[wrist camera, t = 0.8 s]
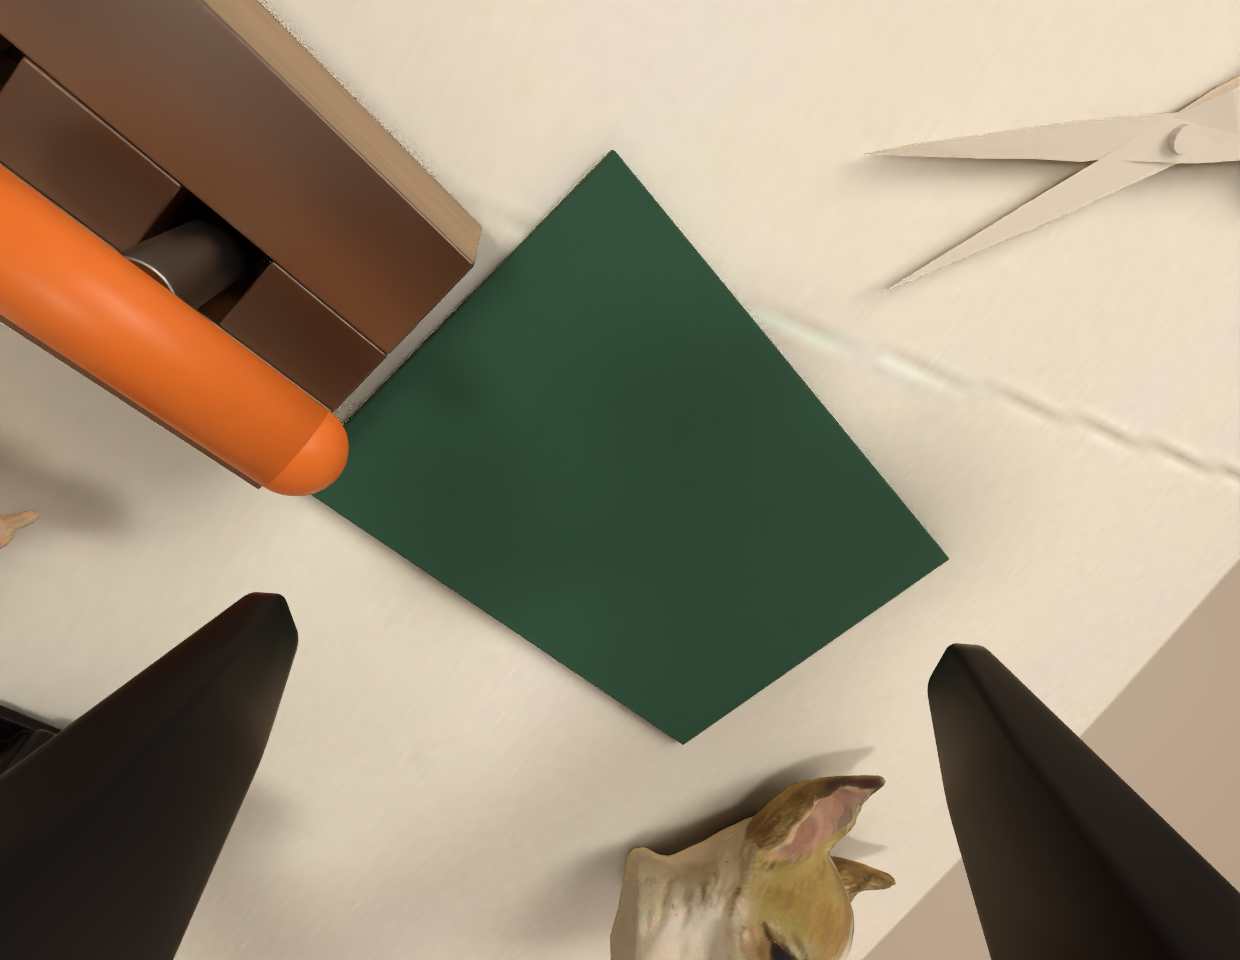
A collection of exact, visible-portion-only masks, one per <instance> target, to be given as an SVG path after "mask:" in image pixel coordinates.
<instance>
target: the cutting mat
mask: <svg viewBox="0 0 1240 960" xmlns="http://www.w3.org/2000/svg"><path fill="white" fill-rule="evenodd" d="M343 427H344V429H345V431H346V434H347V438H348V442H349V454H348V459H347V463H346V465H345V467H344V469H343V471H342V473H341V474H340V476H339V477H338V478H337V479H336V480H335V481H334V482H333V483H332V484H330V485H329V486H328V487H326V488H325V489H323V490H321V491H318V492H316V493H313V494H311V495H312V496H314V497H315V498H317V499H318V500H320V501H321V502H323V503H324V504H326V505H327V506H329V507H330V508H332V509H333V510H335V511H336V512H338V513H339V514H340V515H342V516H343V517H345V518H346V519H348V520H349V521H351V522H352V523H354V524H355V525H357V526H358V527H360V528H361V529H363V530H364V531H366V532H367V533H369V534H370V535H372V536H373V537H375V538H376V539H378V540H379V541H381V542H382V543H384V544H385V545H387V546H388V547H390V548H391V549H393V550H394V551H396V552H397V553H398V554H400V555H401V556H403V557H404V558H406V559H407V560H409V561H410V562H412V563H413V564H415V565H416V566H418V567H419V568H421V569H422V570H424V571H425V572H427V573H428V574H430V575H431V576H433V577H434V578H436V579H437V580H439V581H440V582H442V583H443V584H445V585H446V586H448V587H449V588H451V589H452V590H453V591H455V592H456V593H458V594H459V595H461V596H462V597H464V598H465V599H467V600H468V601H470V602H471V603H473V604H474V605H476V606H477V607H479V608H480V609H482V610H483V611H485V612H486V613H488V614H489V615H491V616H492V617H494V618H495V619H497V620H498V621H500V622H501V623H503V624H504V625H506V626H507V627H509V628H510V629H511V630H513V631H514V632H516V633H517V634H519V635H520V636H522V637H523V638H525V639H526V640H528V641H529V642H531V643H532V644H534V645H535V646H537V647H538V648H540V649H541V650H543V651H544V652H546V653H547V654H549V655H550V656H552V657H553V658H555V659H556V660H558V661H559V662H561V663H562V664H564V665H565V666H566V667H568V668H569V669H571V670H572V671H574V672H575V673H577V674H578V675H580V676H581V677H583V678H584V679H586V680H587V681H589V682H590V683H592V684H593V685H595V686H596V687H598V688H599V689H601V690H602V691H604V692H605V693H607V694H608V695H610V696H611V697H613V698H614V699H616V700H617V701H619V702H620V703H622V704H623V705H624V706H626V707H627V708H629V709H630V710H632V711H633V712H635V713H636V714H638V715H639V716H641V717H642V718H644V719H645V720H647V721H648V722H650V723H651V724H653V725H654V726H656V727H657V728H659V729H660V730H662V731H663V732H665V733H666V734H668V735H669V736H671V737H672V738H674V739H675V740H677V741H678V742H679V743H681V744H682V745H684V744H685V743H687V742H688V741H689V740H691V739H692V738H694V737H695V736H697V735H698V734H699V733H701V732H702V731H704V730H705V729H707V728H708V727H709V726H711V725H712V724H714V723H715V722H717V721H718V720H719V719H721V718H722V717H724V716H725V715H727V714H728V713H730V712H731V711H732V710H734V709H735V708H737V707H738V706H740V705H741V704H742V703H744V702H745V701H747V700H748V699H750V698H751V697H752V696H754V695H755V694H757V693H758V692H760V691H761V690H762V689H764V688H765V687H767V686H768V685H770V684H771V683H772V682H774V681H775V680H777V679H778V678H780V677H781V676H783V675H784V674H785V673H787V672H788V671H790V670H791V669H793V668H794V667H795V666H797V665H798V664H800V663H801V662H803V661H804V660H805V659H807V658H808V657H810V656H811V655H813V654H814V653H815V652H817V651H818V650H820V649H821V648H823V647H824V646H825V645H827V644H828V643H830V642H831V641H833V640H834V639H835V638H837V637H838V636H840V635H841V634H843V633H844V632H846V631H847V630H848V629H850V628H851V627H853V626H854V625H856V624H857V623H858V622H860V621H861V620H863V619H864V618H866V617H867V616H868V615H870V614H871V613H873V612H874V611H876V610H877V609H878V608H880V607H881V606H883V605H884V604H886V603H887V602H888V601H890V600H891V599H893V598H894V597H896V596H897V595H899V594H900V593H901V592H903V591H904V590H906V589H907V588H909V587H910V586H911V585H913V584H914V583H916V582H917V581H919V580H920V579H921V578H923V577H924V576H926V575H927V574H929V573H930V572H931V571H933V570H934V569H936V568H937V567H939V566H940V565H941V564H943V563H944V562H946V561H947V560H949V558H948V557H947V555H946V554H945V553H944V552H943V550H942V549H941V548H940V547H939V546H938V544H937V543H936V542H935V541H934V540H933V538H932V537H931V536H930V535H929V533H928V532H927V531H926V530H925V529H924V527H923V526H922V525H921V524H920V522H919V521H918V520H917V519H916V518H915V516H914V515H913V514H912V513H911V511H910V510H909V509H908V508H907V507H906V505H905V504H904V503H903V502H902V500H901V499H900V498H899V497H898V496H897V494H896V493H895V492H894V491H893V490H892V488H891V487H890V486H889V485H888V483H887V482H886V481H885V480H884V479H883V477H882V476H881V475H880V474H879V472H878V471H877V470H876V469H875V468H874V466H873V465H872V464H871V463H870V461H869V460H868V459H867V458H866V457H865V455H864V454H863V453H862V452H861V451H860V449H859V448H858V447H857V446H856V444H855V443H854V442H853V441H852V440H851V438H850V437H849V436H848V435H847V433H846V432H845V431H844V430H843V429H842V427H841V426H840V425H839V424H838V422H837V421H836V420H835V419H834V418H833V416H832V415H831V414H830V413H829V411H828V410H827V409H826V408H825V407H824V405H823V404H822V403H821V402H820V401H819V399H818V398H817V397H816V396H815V394H814V393H813V392H812V391H811V390H810V388H809V387H808V386H807V385H806V383H805V382H804V381H803V380H802V379H801V377H800V376H799V375H798V374H797V372H796V371H795V370H794V369H793V368H792V366H791V365H790V364H789V363H788V361H787V360H786V359H785V358H784V357H783V355H782V354H781V353H780V352H779V351H778V349H777V348H776V347H775V346H774V344H773V343H772V342H771V341H770V340H769V338H768V337H767V336H766V335H765V333H764V332H763V331H762V330H761V329H760V327H759V326H758V325H757V324H756V322H755V321H754V320H753V319H752V318H751V316H750V315H749V314H748V313H747V312H746V310H745V309H744V308H743V307H742V305H741V304H740V303H739V302H738V301H737V299H736V298H735V297H734V296H733V294H732V293H731V292H730V291H729V290H728V288H727V287H726V286H725V285H724V283H723V282H722V281H721V280H720V279H719V277H718V276H717V275H716V274H715V272H714V271H713V270H712V269H711V268H710V266H709V265H708V264H707V263H706V262H705V260H704V259H703V258H702V257H701V255H700V254H699V253H698V252H697V251H696V249H695V248H694V247H693V246H692V244H691V243H690V242H689V241H688V240H687V238H686V237H685V236H684V235H683V233H682V232H681V231H680V230H679V229H678V227H677V226H676V225H675V224H674V223H673V221H672V220H671V219H670V218H669V216H668V215H667V214H666V213H665V212H664V210H663V209H662V208H661V207H660V205H659V204H658V203H657V202H656V201H655V199H654V198H653V197H652V196H651V194H650V193H649V192H648V191H647V190H646V188H645V187H644V186H643V185H642V183H641V182H640V181H639V180H638V179H637V177H636V176H635V175H634V174H633V173H632V171H631V170H630V169H629V168H628V166H627V165H626V164H625V163H624V162H623V160H622V159H621V158H620V157H619V155H618V154H617V153H616V152H615V151H614V150H611V151H610V152H609V153H608V155H607V156H606V157H605V158H604V159H603V160H602V161H601V162H600V163H599V164H598V165H597V166H596V167H595V168H594V169H593V170H592V171H591V172H590V173H589V174H588V175H587V176H586V177H585V178H584V179H583V180H582V181H581V182H580V183H579V184H578V185H577V186H576V187H575V188H574V189H573V190H572V191H571V192H570V194H569V195H568V196H567V197H566V198H565V199H564V200H563V201H562V202H561V203H560V204H559V205H558V206H557V207H556V208H555V209H554V210H553V211H552V212H551V213H550V214H549V215H548V216H547V217H546V218H545V219H544V220H543V221H542V222H541V223H540V224H539V225H538V226H537V227H536V228H535V229H534V230H533V231H532V233H531V234H530V235H529V236H528V237H527V238H526V239H525V240H524V241H523V242H522V243H521V244H520V245H519V246H518V247H517V248H516V249H515V250H514V251H513V252H512V253H511V254H510V255H509V256H508V257H507V258H506V259H505V260H504V261H503V262H502V263H501V264H500V265H499V266H498V267H497V268H496V269H495V271H494V272H493V273H492V274H491V275H490V276H489V277H488V278H487V279H486V280H485V281H484V282H483V283H482V284H481V285H480V286H479V287H478V288H477V289H476V290H475V291H474V292H473V293H472V294H471V295H470V296H469V297H468V298H467V299H466V300H465V301H464V302H463V303H462V304H461V305H460V306H459V307H458V308H457V310H456V311H455V312H454V313H453V314H452V315H451V316H450V317H449V318H448V319H447V320H446V321H445V322H444V323H443V324H442V325H441V326H440V327H439V328H438V329H437V330H436V331H435V332H434V333H433V334H432V335H431V336H430V337H429V338H428V339H427V340H426V341H425V342H424V343H423V344H422V345H421V346H420V347H419V349H418V350H417V351H416V352H415V353H414V354H413V355H412V356H411V357H410V358H409V359H408V360H407V361H406V362H405V363H404V364H403V365H402V366H401V367H400V368H399V369H398V370H397V371H396V372H395V373H394V374H393V375H392V376H391V377H390V378H389V379H388V380H387V381H386V382H385V383H384V384H383V385H382V386H381V388H380V389H379V390H378V391H377V392H376V393H375V394H374V395H373V396H372V397H371V398H370V399H369V400H368V401H367V402H366V403H365V404H364V405H363V406H362V407H361V408H360V409H359V410H358V411H357V412H356V413H355V414H354V415H353V416H352V417H351V418H350V419H349V420H348V421H347V422H346V423H345V424H344V426H343Z"/></svg>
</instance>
